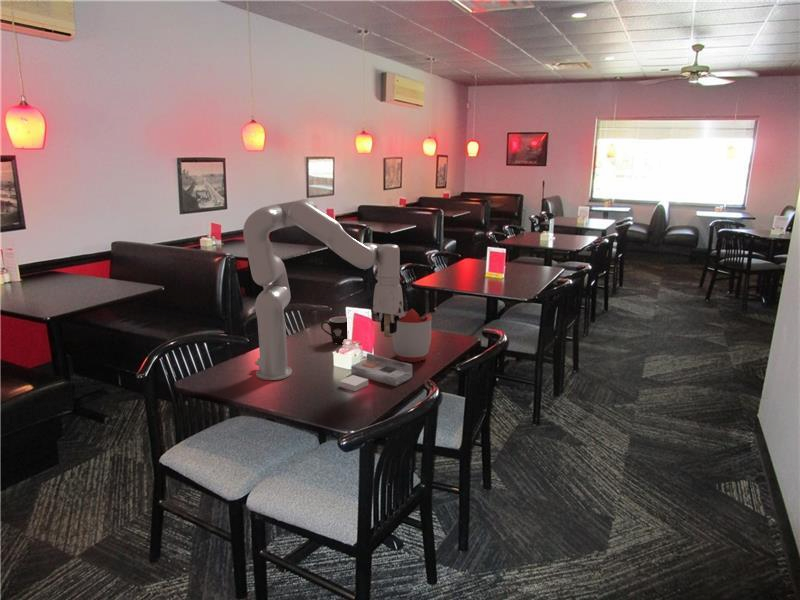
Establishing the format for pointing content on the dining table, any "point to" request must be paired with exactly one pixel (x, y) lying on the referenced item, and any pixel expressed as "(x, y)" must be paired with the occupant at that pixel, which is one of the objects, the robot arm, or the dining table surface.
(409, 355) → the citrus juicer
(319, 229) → the robot arm
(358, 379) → the white flat square block
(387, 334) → the peg
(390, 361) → the grey tray
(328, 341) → the dining table surface
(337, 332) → the coffee mug
